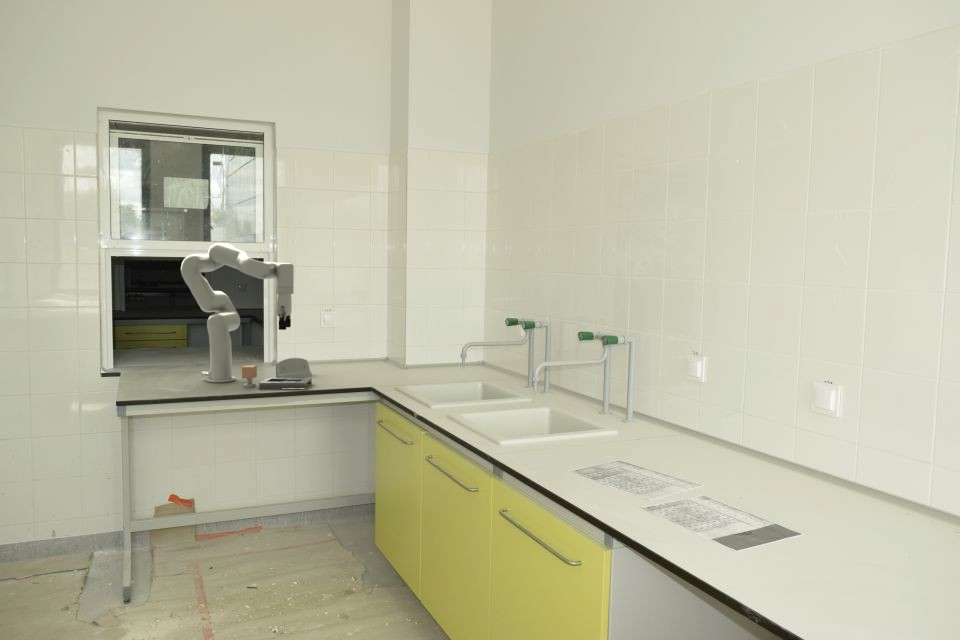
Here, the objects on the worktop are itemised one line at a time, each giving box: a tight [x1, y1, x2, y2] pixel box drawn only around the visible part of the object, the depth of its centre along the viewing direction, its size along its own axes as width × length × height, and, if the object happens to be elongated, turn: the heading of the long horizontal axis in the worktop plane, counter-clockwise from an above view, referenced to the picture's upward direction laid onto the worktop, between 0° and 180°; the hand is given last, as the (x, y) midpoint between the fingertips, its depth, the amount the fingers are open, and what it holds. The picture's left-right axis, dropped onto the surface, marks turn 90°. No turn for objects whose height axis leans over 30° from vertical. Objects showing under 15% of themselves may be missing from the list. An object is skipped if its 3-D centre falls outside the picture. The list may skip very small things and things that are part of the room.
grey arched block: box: [275, 357, 313, 378], centre depth 346 cm, size 17×5×10 cm, turn 128°
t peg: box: [241, 364, 258, 388], centre depth 320 cm, size 5×5×9 cm
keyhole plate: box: [258, 377, 313, 390], centre depth 320 cm, size 20×13×3 cm, turn 92°
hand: (284, 328), depth 325 cm, fingers open, 9 cm apart
